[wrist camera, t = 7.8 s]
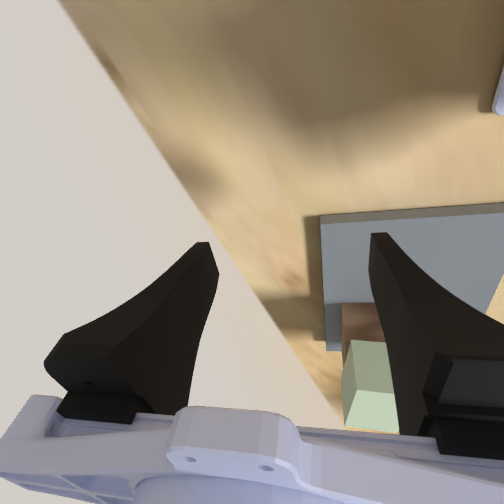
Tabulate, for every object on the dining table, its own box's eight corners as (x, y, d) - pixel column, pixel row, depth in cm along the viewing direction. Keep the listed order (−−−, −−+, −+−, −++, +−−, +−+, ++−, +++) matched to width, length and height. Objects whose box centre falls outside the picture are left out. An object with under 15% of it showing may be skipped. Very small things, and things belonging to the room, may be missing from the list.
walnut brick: (389, 302, 26) (400, 342, 23) (383, 343, 30) (392, 383, 27) (341, 302, 27) (345, 341, 24) (341, 342, 31) (344, 380, 27)
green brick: (405, 344, 23) (420, 397, 20) (387, 384, 27) (397, 433, 24) (351, 339, 24) (357, 389, 21) (340, 378, 27) (344, 426, 24)
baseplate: (521, 201, 20) (531, 210, 19) (461, 344, 30) (466, 354, 29) (320, 215, 23) (320, 224, 22) (325, 341, 33) (326, 350, 32)
